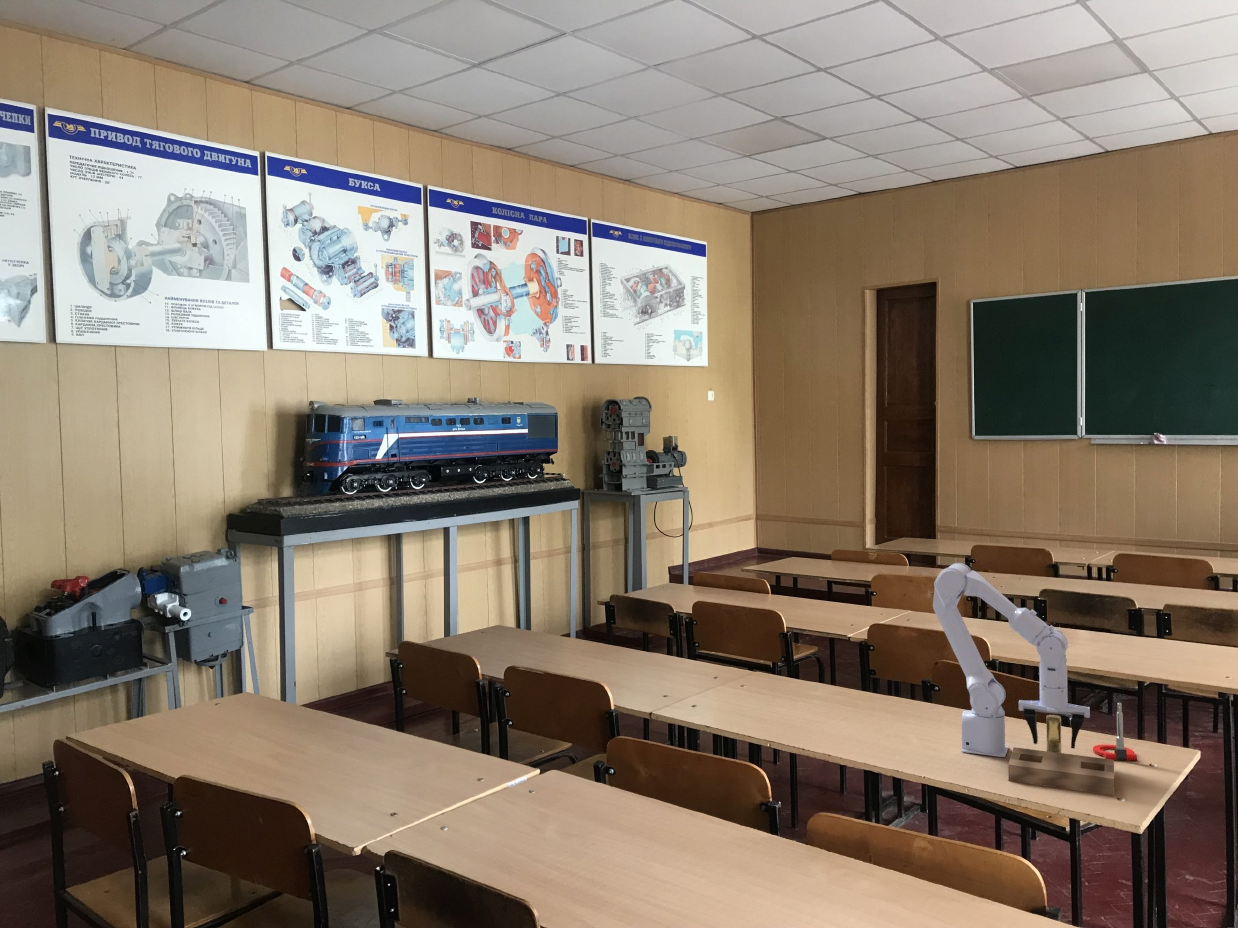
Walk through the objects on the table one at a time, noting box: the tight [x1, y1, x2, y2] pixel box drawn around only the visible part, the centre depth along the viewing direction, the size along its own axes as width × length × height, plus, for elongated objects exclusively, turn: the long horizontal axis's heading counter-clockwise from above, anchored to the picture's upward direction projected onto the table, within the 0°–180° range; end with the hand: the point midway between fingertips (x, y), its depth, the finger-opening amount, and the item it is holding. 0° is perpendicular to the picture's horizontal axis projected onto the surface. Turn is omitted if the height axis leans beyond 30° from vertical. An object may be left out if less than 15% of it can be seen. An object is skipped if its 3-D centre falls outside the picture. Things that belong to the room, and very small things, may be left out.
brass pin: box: [1045, 714, 1062, 753], centre depth 211 cm, size 3×3×10 cm
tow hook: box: [1092, 702, 1138, 761], centre depth 215 cm, size 8×13×9 cm
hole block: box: [1007, 746, 1115, 796], centre depth 201 cm, size 20×12×4 cm, turn 62°
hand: (1054, 744), depth 211 cm, fingers open, 7 cm apart
